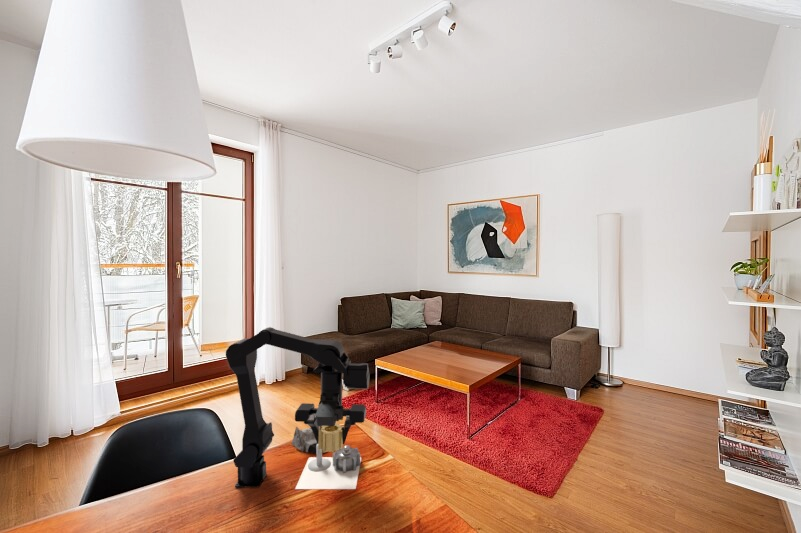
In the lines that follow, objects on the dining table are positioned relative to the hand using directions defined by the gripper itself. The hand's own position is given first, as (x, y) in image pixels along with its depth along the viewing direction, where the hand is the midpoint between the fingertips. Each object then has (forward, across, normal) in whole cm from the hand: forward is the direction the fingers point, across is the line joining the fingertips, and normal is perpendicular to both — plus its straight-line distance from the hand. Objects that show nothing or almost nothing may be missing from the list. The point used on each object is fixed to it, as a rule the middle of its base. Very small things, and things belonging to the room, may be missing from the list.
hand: (331, 443), depth 100 cm
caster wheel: (+12, -9, +17) cm, 22 cm away
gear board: (+11, 0, +2) cm, 11 cm away
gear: (+10, +3, +6) cm, 12 cm away
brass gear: (+1, 0, 0) cm, 1 cm away
